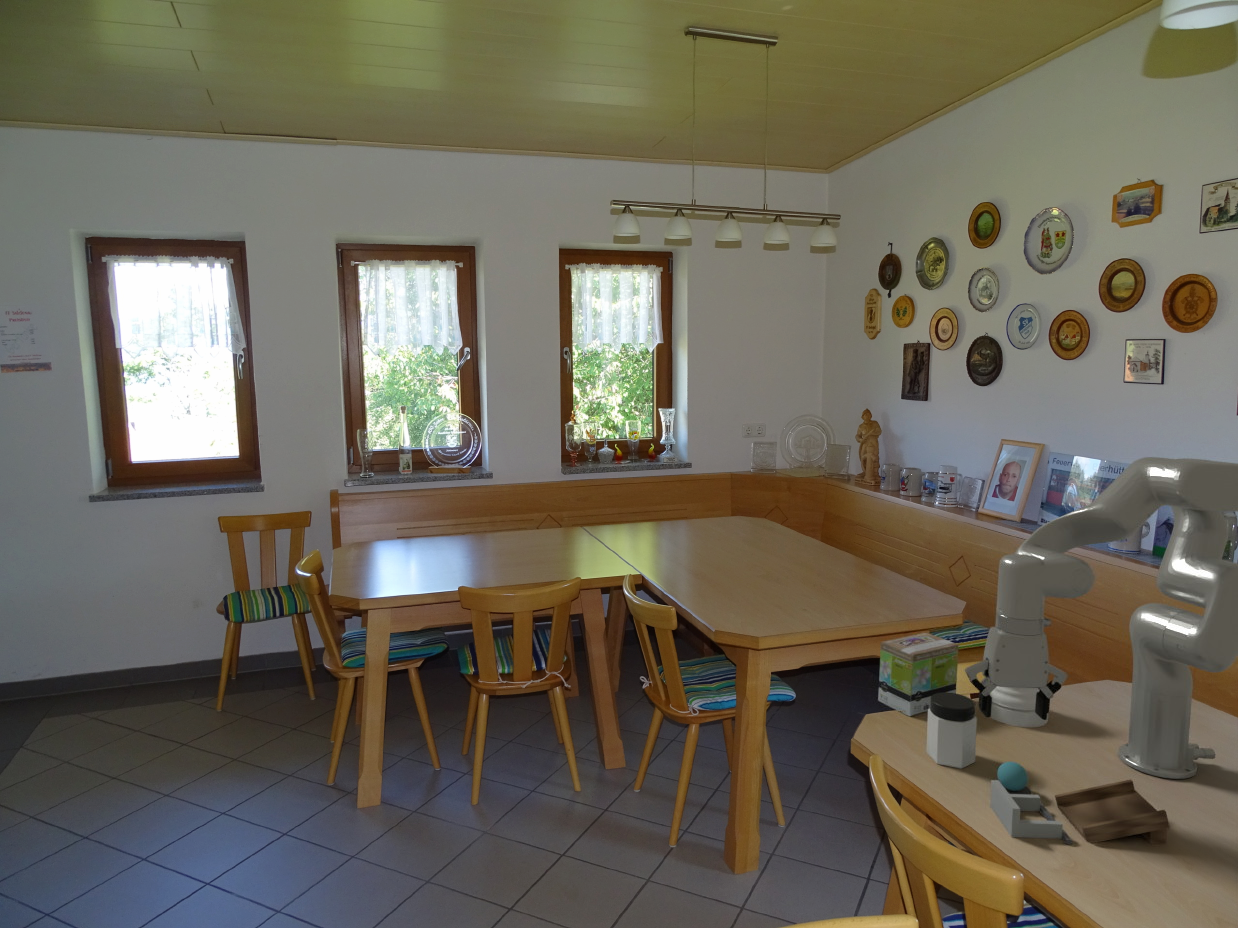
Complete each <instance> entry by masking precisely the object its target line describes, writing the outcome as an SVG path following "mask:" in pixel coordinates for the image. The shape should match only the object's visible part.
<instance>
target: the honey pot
mask: <svg viewBox="0 0 1238 928" xmlns="http://www.w3.org/2000/svg"><path fill="white" fill-rule="evenodd" d="M1039 691H1040V690H1039V689H1038V688H1016V687H999V686H997V687H996V688H995V689H994V690H993V691H992V692H991V693H990V696H991V697H992V706H991V717H990V718H991V719H992V720H995V721H997V722H999V723H1002V724H1005V725H1008V726H1015V727H1022V728H1037V727H1041V726H1045V725H1046V724H1047V723H1049V722H1048V721H1049V713H1047V720H1043V719H1041V718H1040V717H1039V716H1038V715H1037V714H1036V713H1035V704H1036V693H1037V692H1039Z"/></svg>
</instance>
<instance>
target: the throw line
mask: <svg viewBox="0 0 1238 928" xmlns="http://www.w3.org/2000/svg"><path fill="white" fill-rule="evenodd" d="M1039 812H1040V813H1041V815H1042V816H1043V817H1044V818H1045V821H1057V820H1056V819H1055V818H1054V817H1053V815H1052V814H1051V813H1050V811H1048V809H1047V808H1046V807H1045V806H1044V804H1043V803H1042V802H1041V801H1040V811H1039ZM1061 840H1062V841H1063V842H1064V843H1065V845H1072V843H1073V842H1072V841H1073V840H1072V838H1071V837H1070V836H1069V834H1068V833H1067V832H1066V831H1065V830H1064V829H1063V828H1062V839H1061Z"/></svg>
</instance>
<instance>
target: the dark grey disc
mask: <svg viewBox="0 0 1238 928" xmlns="http://www.w3.org/2000/svg"><path fill="white" fill-rule="evenodd" d="M999 782H1000V781H999ZM1002 786H1003V785H1002ZM1003 787H1004V786H1003ZM1004 788H1005V787H1004ZM1005 789H1006V791H1007V792H1008V793H1009V794H1027V795H1033V792H1032V790H1031V789H1030V788H1029V787H1028V786H1027V785H1026V786H1025V787H1024V788H1023V789H1022V790H1019V791H1012V790H1009V789H1007V788H1005Z"/></svg>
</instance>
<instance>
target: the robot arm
mask: <svg viewBox="0 0 1238 928" xmlns="http://www.w3.org/2000/svg"><path fill="white" fill-rule="evenodd" d="M1163 506H1170V507H1171V510H1172V513H1173V518H1174V521H1173V528H1172V532H1171V535H1170V538H1169V540H1168V544H1167V547H1166V549H1165V551H1164V555H1163V557H1162V560H1161V563H1160V566H1159V569H1158V572H1157V575H1156V587H1157V589H1158V591H1160V593H1162V594H1163V595H1164V596H1166V597H1168V598H1170V599H1173V600H1175V601H1178V602H1181V603H1185V604H1189V605H1192V606H1195V607H1198V608H1201V609H1204V614H1203V615H1202V614H1199V613H1194V612H1193V611H1189V610H1188V609H1187V610H1186V609H1182V608H1180V607H1176V606H1172V605H1169V604H1166V603H1165V604H1164V603H1156V602H1151V603H1150V602H1149V603H1145V604H1143V605H1140V606H1139V607H1137V608H1136V609H1135V610H1134V611H1133V613H1132V614H1131V617H1130V619H1129V625H1128V626H1129V628H1128V629H1129V630H1128V631H1129V637H1130V642H1131V643H1130V644H1131V649H1132V665H1133V666H1132V682H1131V695H1130V697H1131V699H1130V711H1129V712H1130V713H1129V726H1128V728H1129V729H1128V741H1127V743H1123V744H1121V745H1119V747H1118V752H1117V753H1118V754H1117V755H1118V757H1119V758H1120V760H1121V761H1122V762H1123V763H1125V764H1126V765H1127V766H1128V767H1131V768H1132V769H1135V770H1136V771H1139V772H1142V773H1145V774H1148V775H1151V776H1154V777H1160V778H1164V779H1175V780H1180V779H1181V780H1184V779H1189V778H1191V777H1194V776H1195V775H1196V774H1197V771H1198V765H1197V764H1196V762H1195V761H1197V760H1198V759H1203V760H1213V759H1214V760H1215V759H1216V752H1215V749H1213V748H1210V747H1209V748H1208V747H1201V748H1200V746H1199V744H1198V743H1189V741H1190V728H1191V727H1190V726H1191V713H1192V700H1193V699H1192V698H1193V689H1194V687H1193V686H1194V684H1193V675H1192V671H1191V669H1190V667H1192V668H1196V669H1198V670H1201V671H1204V672H1208V673H1221V672H1224V671H1226V670H1228V669H1230V668H1231V666H1232V665H1234V663H1235V661H1236V660H1237V658H1238V563H1237V562H1233V561H1229V560H1225V559H1223V556H1224V553H1225V549H1226V547H1227V543H1228V540H1229V527H1228V524H1227V521H1226V519H1225V516H1224V515H1223V513H1222V512H1238V463H1237V462H1236V463H1235V462H1226V461H1218V460H1217V461H1216V460H1207V459H1199V458H1168V457H1167V458H1166V457H1157V456H1148V457H1147V456H1145V457H1142V458H1138V459H1136V460H1134V461H1133V462H1131V463H1130V464H1129V465H1128V466H1127V468H1125V469H1124V470H1123V471H1122V472H1121V473H1120V474H1119V475H1118V476H1117V477H1116V478H1115V479H1114V480H1113V481H1112V482H1111V483H1110V484H1109V485H1108V486H1107V487H1106V488H1105V489H1104V490H1103V491H1102V492H1101V493H1100V494H1099V495H1098V496H1097V497H1096V498H1095V499H1094V500H1093V501H1091V503H1090V504H1088V505H1086V506H1084V507H1081V508H1078V509H1076V510H1073V511H1070V512H1067V513H1066V514H1064V515H1062V516H1060V517H1059V516H1058V517H1056V518H1054V519H1052V520H1050V521H1048V522H1046V523H1044V524H1043V525H1041V526H1040V527H1038V528H1037V529H1036V530H1035V531H1033V532H1032V534H1030V535H1028V537H1027V538H1026V539H1025V540H1024V541H1023V542H1022V543H1021V544H1020V546H1019V547H1018V548H1017V549H1016V550H1015V552H1014V553H1010V554H1006V555H1004V556H1002V557H1001V559H1000V560H999V565H998V576H997V577H998V578H997V594H996V607H995V608H996V610H995V611H996V612H995V624H994V625H995V626H991V627H989V630H988V634H987V636H986V637H987V638H986V642H985V645H984V646H985V647H984V651H983V658H982V660H981V661H978V662H977V663H974V664H972V665H970V666H968V667H966V668H965V669H964V671H965V674H966V676H967V677H968V680H969V682H970V683H971V684H972V685H973V686H974V688H975V689H977V690H978V703H977V704H978V705H977V706H978V709H979V711H980V712H981V713H982V714H983V715H984V716H985V718H991V706H992V697H991V696H990V693H991V692H992V691H993V690H994V689H995V688H996V687H997V686H999V687H1016V688H1038V689H1039V690H1040V691H1039V692H1037V693H1036V704H1035V713H1036V714H1037V715H1038V716H1039V717H1040V718H1041V719H1043V720H1047V713H1048V714H1050V708H1051V707H1050V705H1051V699H1053V698H1054V696H1055V695H1054V694H1056V693H1057V692H1059V691H1060V690H1061V689H1062V685H1063V684H1064V683H1065V681H1066V680H1067V678H1068V674H1067V673H1066V671H1064V670H1062V669H1060V668H1058V667H1056V666H1055V665H1052V664H1050V655H1049V647H1048V646H1049V645H1048V640H1047V634H1046V633H1045V632H1044V629H1045V627H1050V626H1051V624H1052V621H1051V619H1050V618H1046V617H1045V616H1044V613H1045V612H1044V611H1045V600H1046V598H1050V597H1051V598H1062V599H1077V598H1081V597H1083V596H1085V595H1086V594H1088V593H1089V592H1090V591H1091V590H1092V588H1093V586H1094V584H1095V581H1096V576H1095V572H1094V569H1093V567H1091V565H1090V564H1089V563H1088V562H1086V561H1085V560H1083V559H1082V558H1079V557H1076V556H1075V555H1074V556H1073V555H1069V554H1066V552H1068V551H1071V550H1073V549H1076V548H1078V547H1083V546H1089V545H1096V544H1097V545H1098V544H1106V543H1113V542H1119V541H1122V540H1123V541H1124V540H1126V539H1129V538H1131V537H1132V536H1133V535H1134V534H1135V533H1136V532H1137V531H1138V530H1139V529H1140V528H1142V526H1143V525H1144V524H1145V523H1146V522H1147V521H1148V520H1149V519H1150V518H1151V517H1152V516H1153V514H1155V513H1156V512H1157V511H1158V510H1159V509H1160V508H1161V507H1163ZM980 673H982V676H983V679H981V681H980V680H979V678H978V676H977V675H978V674H980ZM1050 674H1052V675H1054V676H1053V679H1051V680H1050V681H1049V678H1050V677H1049V676H1050Z"/></svg>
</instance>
